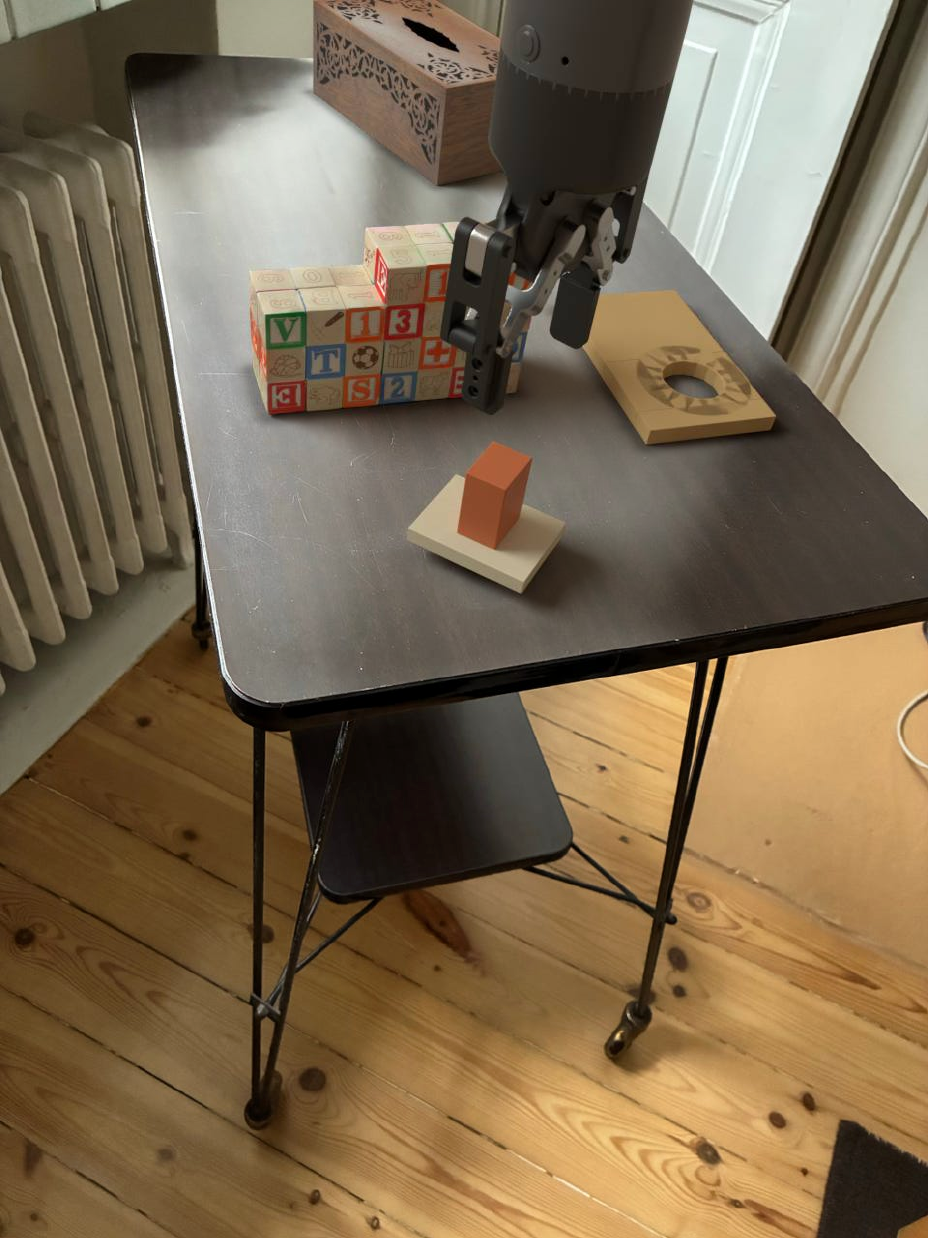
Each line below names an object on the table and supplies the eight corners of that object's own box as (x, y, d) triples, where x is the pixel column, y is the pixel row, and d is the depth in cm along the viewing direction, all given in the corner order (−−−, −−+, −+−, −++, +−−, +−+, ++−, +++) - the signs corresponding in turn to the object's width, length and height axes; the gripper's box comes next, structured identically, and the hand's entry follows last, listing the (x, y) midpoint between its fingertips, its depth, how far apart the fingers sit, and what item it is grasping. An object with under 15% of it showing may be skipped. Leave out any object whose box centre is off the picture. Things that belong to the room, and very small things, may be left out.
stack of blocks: (266, 418, 78) (260, 275, 69) (252, 371, 81) (244, 230, 72) (518, 392, 84) (543, 258, 75) (494, 350, 88) (515, 217, 78)
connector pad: (559, 547, 72) (582, 462, 66) (518, 606, 68) (538, 521, 62) (452, 499, 74) (465, 412, 68) (405, 553, 70) (414, 466, 64)
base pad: (771, 430, 85) (778, 415, 84) (645, 444, 81) (650, 430, 80) (672, 302, 97) (676, 289, 96) (558, 311, 93) (561, 297, 92)
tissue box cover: (313, 92, 119) (313, -1, 112) (410, 76, 126) (416, -12, 119) (436, 185, 107) (446, 88, 100) (537, 162, 114) (553, 69, 106)
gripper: (577, 124, 36) (510, 465, 48) (740, 39, 44) (648, 348, 57) (416, 58, 38) (390, 399, 51) (599, -11, 47) (540, 296, 59)
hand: (526, 372), depth 54 cm, fingers open, 8 cm apart
